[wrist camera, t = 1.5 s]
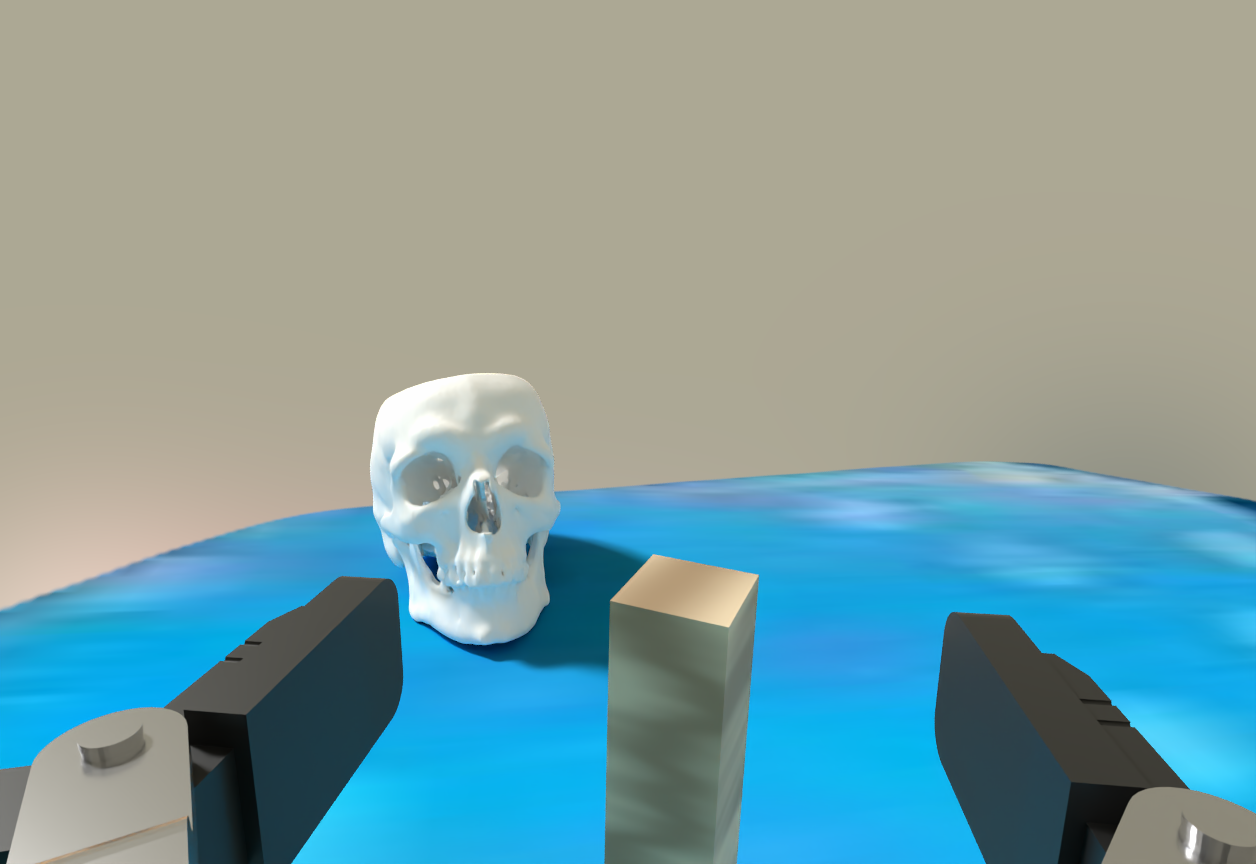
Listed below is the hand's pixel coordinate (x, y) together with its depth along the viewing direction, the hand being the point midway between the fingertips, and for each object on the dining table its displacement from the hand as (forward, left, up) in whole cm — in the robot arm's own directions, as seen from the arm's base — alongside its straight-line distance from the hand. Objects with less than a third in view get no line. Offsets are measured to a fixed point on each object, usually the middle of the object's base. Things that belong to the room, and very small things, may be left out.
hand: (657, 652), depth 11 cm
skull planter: (-28, +35, -21) cm, 49 cm away
